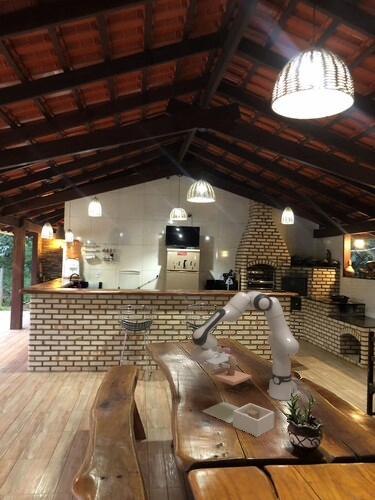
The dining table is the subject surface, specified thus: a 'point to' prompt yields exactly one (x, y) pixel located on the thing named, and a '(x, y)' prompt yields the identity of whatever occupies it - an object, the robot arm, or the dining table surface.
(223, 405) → the mat
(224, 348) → the gum box
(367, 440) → the dining table surface
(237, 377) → the lid
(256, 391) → the dining table surface
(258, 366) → the dining table surface
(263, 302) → the robot arm
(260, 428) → the box
